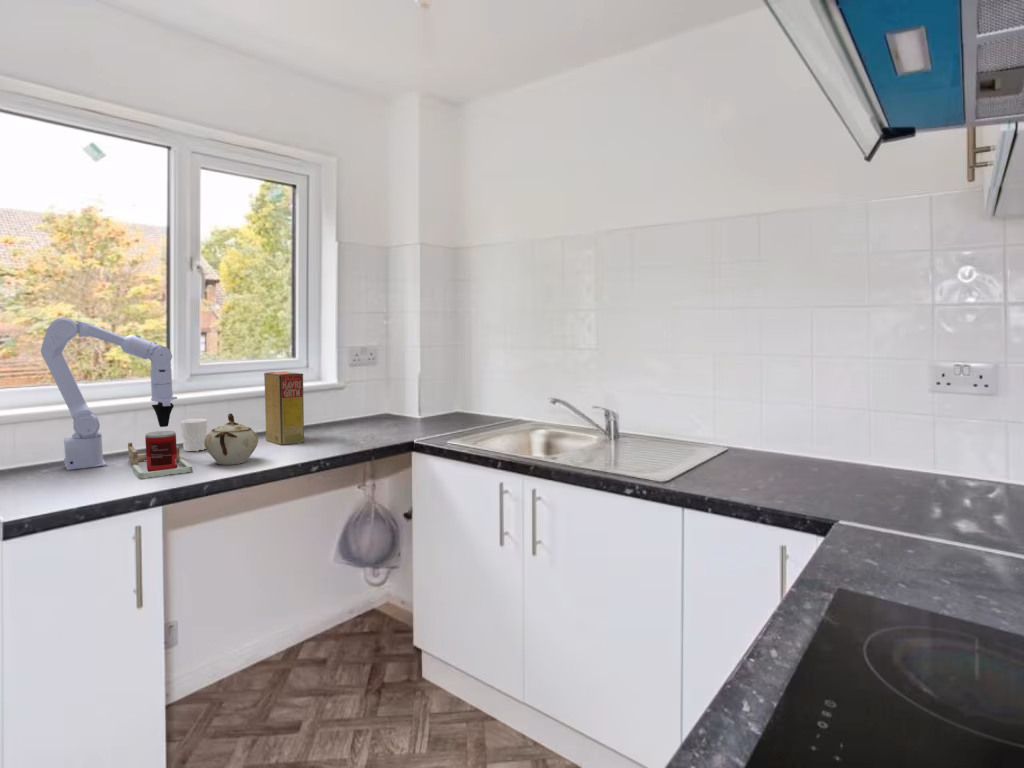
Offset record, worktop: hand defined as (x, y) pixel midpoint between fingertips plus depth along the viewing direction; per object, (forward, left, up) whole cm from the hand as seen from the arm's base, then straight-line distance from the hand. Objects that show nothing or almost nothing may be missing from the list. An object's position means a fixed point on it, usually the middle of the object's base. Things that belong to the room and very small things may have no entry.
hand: (163, 426), depth 193 cm
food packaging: (+39, +4, -10) cm, 40 cm away
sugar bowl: (+15, -20, -10) cm, 27 cm away
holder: (-4, -7, -10) cm, 13 cm away
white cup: (+10, +7, -10) cm, 16 cm away
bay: (-4, -20, -10) cm, 23 cm away
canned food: (-4, -19, -10) cm, 22 cm away
